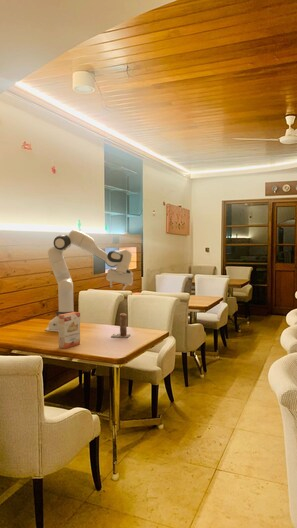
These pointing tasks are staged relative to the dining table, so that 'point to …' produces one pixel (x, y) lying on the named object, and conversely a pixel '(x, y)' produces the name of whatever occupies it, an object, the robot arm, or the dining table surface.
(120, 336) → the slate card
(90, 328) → the dining table surface
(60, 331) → the cracker box
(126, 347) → the dining table surface
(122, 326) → the walnut tube
